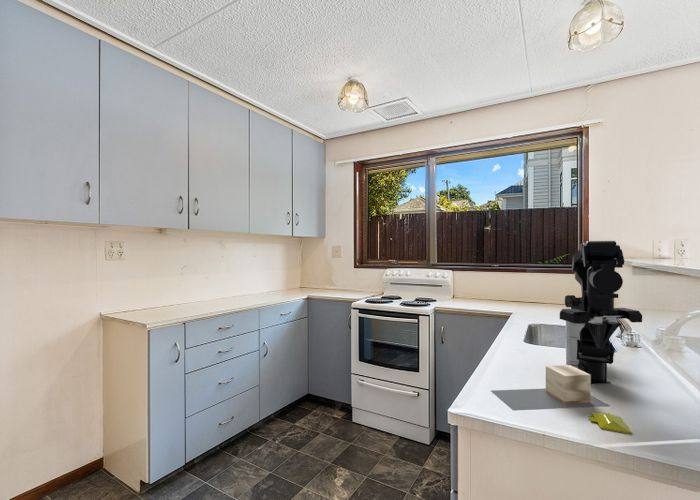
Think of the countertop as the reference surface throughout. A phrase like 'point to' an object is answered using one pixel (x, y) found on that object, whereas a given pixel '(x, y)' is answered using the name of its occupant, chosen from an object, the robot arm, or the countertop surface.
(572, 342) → the supplement box
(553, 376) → the birch cube
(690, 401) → the countertop surface
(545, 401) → the charcoal mat
